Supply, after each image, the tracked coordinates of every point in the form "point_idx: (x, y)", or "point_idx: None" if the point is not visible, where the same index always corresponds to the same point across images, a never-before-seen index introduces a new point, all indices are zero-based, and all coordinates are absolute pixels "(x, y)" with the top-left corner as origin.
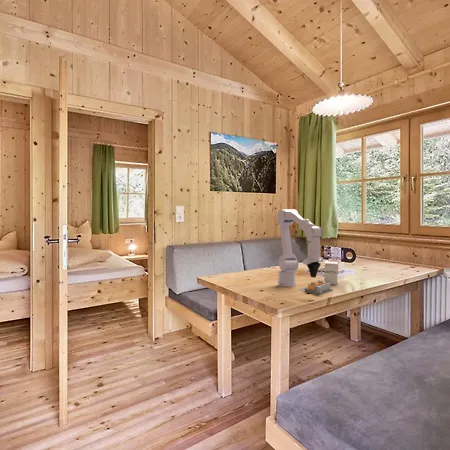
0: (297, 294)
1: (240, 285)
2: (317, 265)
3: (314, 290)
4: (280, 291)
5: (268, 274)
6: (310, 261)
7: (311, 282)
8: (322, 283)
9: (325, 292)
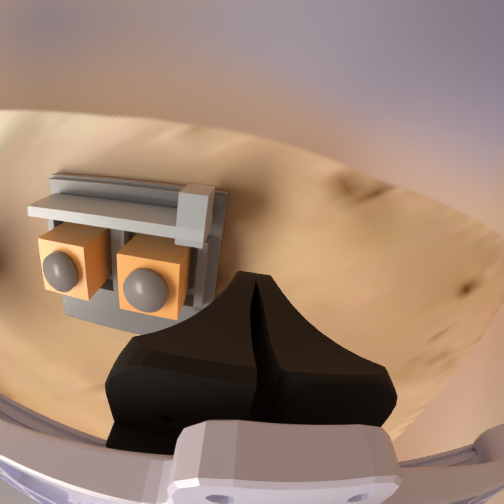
0: None
1: None
2: (288, 364)
3: None
4: None
5: None
6: (482, 470)
7: (147, 309)
8: (75, 244)
9: (129, 184)
